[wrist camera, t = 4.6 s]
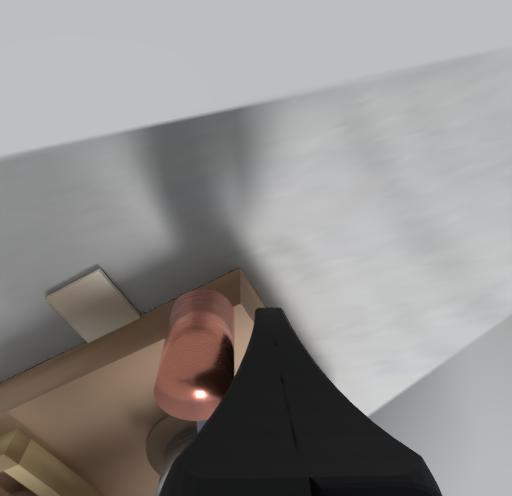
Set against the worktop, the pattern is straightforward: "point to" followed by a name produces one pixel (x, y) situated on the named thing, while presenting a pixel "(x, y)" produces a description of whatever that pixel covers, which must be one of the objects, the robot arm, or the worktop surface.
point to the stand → (101, 396)
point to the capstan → (194, 364)
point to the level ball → (24, 493)
